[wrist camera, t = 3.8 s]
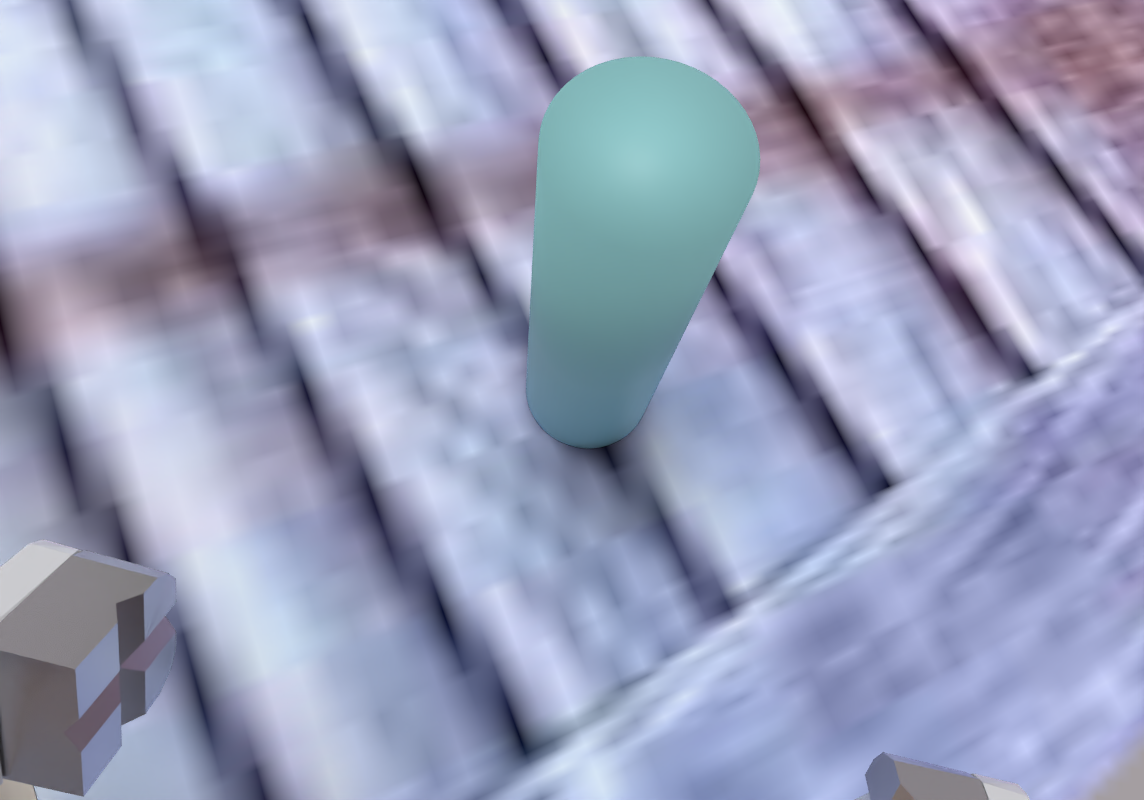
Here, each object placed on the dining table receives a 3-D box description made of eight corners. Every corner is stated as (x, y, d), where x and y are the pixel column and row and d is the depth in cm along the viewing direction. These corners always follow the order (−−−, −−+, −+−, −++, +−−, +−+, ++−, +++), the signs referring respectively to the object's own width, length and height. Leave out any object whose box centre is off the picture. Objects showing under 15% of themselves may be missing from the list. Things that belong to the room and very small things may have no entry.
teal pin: (505, 361, 25) (501, 100, 14) (612, 314, 26) (692, 28, 15) (559, 468, 24) (602, 284, 13) (669, 416, 25) (801, 197, 14)
